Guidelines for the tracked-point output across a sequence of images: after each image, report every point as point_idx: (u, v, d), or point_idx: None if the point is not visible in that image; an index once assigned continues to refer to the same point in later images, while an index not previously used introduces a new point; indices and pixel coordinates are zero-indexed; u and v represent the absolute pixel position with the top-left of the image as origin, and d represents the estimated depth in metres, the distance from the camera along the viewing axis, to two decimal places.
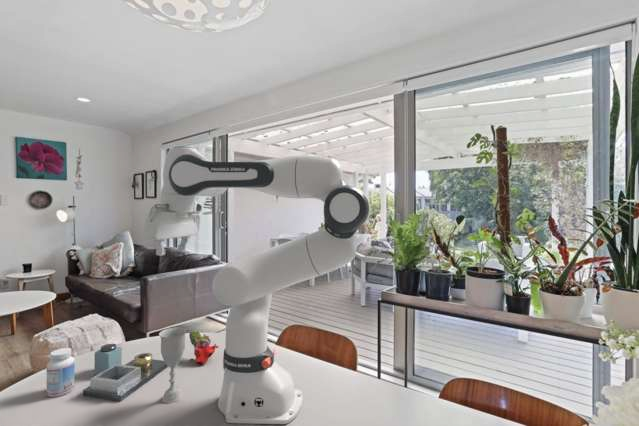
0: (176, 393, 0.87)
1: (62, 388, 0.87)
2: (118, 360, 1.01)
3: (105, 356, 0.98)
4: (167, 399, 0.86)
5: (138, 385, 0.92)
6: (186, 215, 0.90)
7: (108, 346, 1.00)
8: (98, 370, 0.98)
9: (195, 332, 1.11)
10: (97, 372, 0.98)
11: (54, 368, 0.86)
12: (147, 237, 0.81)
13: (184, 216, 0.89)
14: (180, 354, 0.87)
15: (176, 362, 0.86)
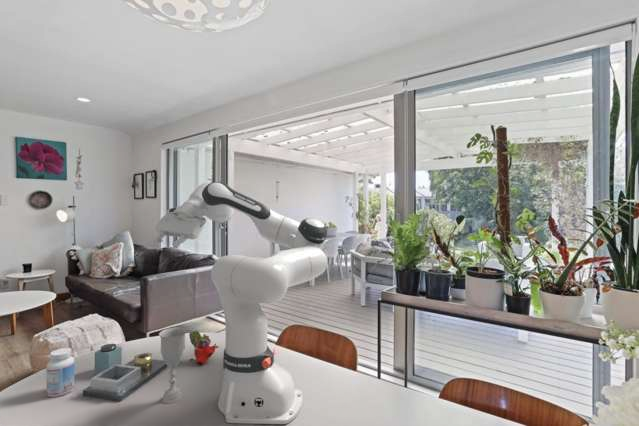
0: (176, 393, 0.87)
1: (62, 388, 0.87)
2: (118, 360, 1.01)
3: (105, 356, 0.98)
4: (167, 399, 0.86)
5: (138, 385, 0.92)
6: None
7: (108, 346, 1.00)
8: (98, 370, 0.98)
9: (195, 332, 1.11)
10: (97, 372, 0.98)
11: (54, 368, 0.86)
12: (192, 235, 1.13)
13: None
14: (180, 354, 0.87)
15: (176, 362, 0.86)
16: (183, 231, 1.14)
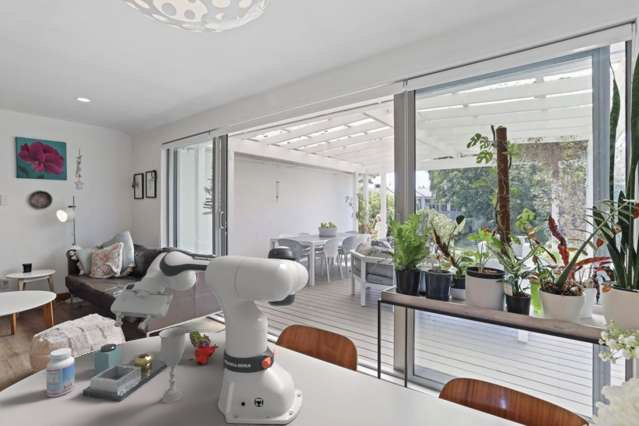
0: (176, 393, 0.87)
1: (62, 388, 0.87)
2: (118, 360, 1.01)
3: (105, 356, 0.98)
4: (167, 399, 0.86)
5: (138, 385, 0.92)
6: None
7: (108, 346, 1.00)
8: (98, 370, 0.98)
9: (195, 332, 1.11)
10: (97, 372, 0.98)
11: (54, 368, 0.86)
12: (160, 315, 1.10)
13: None
14: (180, 354, 0.87)
15: (176, 362, 0.86)
16: (149, 311, 1.10)
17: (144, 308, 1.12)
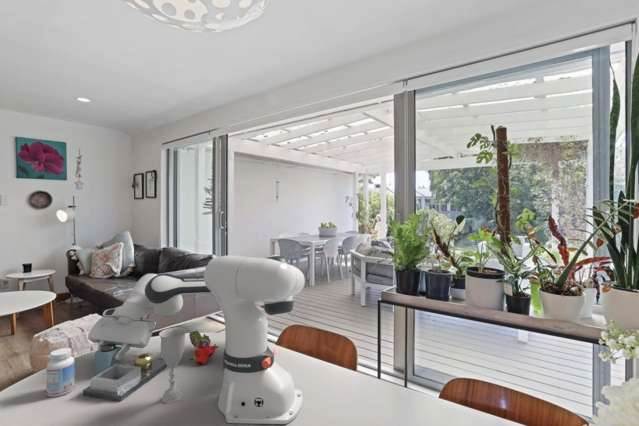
0: (176, 393, 0.87)
1: (62, 388, 0.87)
2: (118, 360, 1.01)
3: (105, 356, 0.98)
4: (167, 399, 0.86)
5: (138, 385, 0.92)
6: None
7: (108, 346, 1.00)
8: (98, 370, 0.98)
9: (195, 332, 1.11)
10: (97, 372, 0.98)
11: (54, 368, 0.86)
12: (142, 344, 1.01)
13: None
14: (180, 354, 0.87)
15: (176, 362, 0.86)
16: (130, 341, 1.01)
17: (124, 336, 1.03)
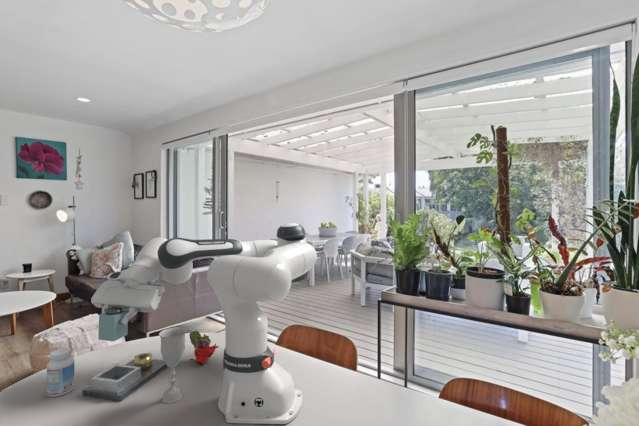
0: (176, 393, 0.87)
1: (62, 388, 0.87)
2: (124, 325, 0.93)
3: (110, 319, 0.90)
4: (167, 399, 0.86)
5: (138, 385, 0.92)
6: None
7: (114, 309, 0.92)
8: (103, 334, 0.90)
9: (195, 332, 1.11)
10: (101, 337, 0.90)
11: (54, 368, 0.86)
12: (150, 308, 0.93)
13: None
14: (180, 354, 0.87)
15: (176, 362, 0.86)
16: (137, 304, 0.93)
17: (131, 300, 0.94)
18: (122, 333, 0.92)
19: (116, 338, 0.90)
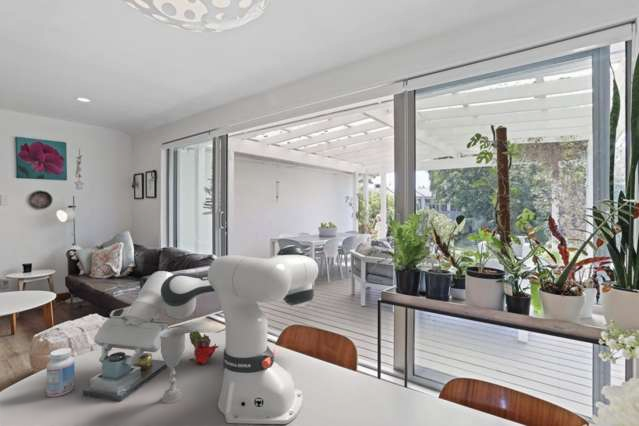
0: (176, 393, 0.87)
1: (62, 388, 0.87)
2: (127, 370, 0.92)
3: (113, 366, 0.89)
4: (167, 399, 0.86)
5: (138, 385, 0.92)
6: None
7: (117, 355, 0.91)
8: None
9: (195, 332, 1.11)
10: None
11: (54, 368, 0.86)
12: (154, 348, 0.92)
13: None
14: (180, 354, 0.87)
15: (176, 362, 0.86)
16: (140, 344, 0.92)
17: (134, 340, 0.93)
18: None
19: None
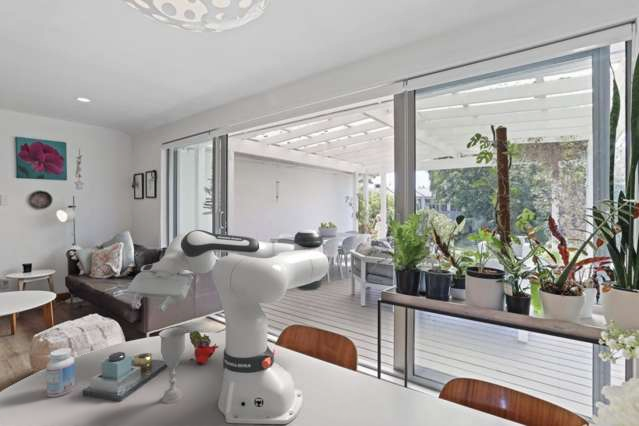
0: (176, 393, 0.87)
1: (62, 388, 0.87)
2: (127, 370, 0.92)
3: (113, 366, 0.89)
4: (167, 399, 0.86)
5: (138, 385, 0.92)
6: None
7: (117, 355, 0.91)
8: None
9: (195, 332, 1.11)
10: None
11: (54, 368, 0.86)
12: (181, 295, 1.05)
13: None
14: (180, 354, 0.87)
15: (176, 362, 0.86)
16: (169, 292, 1.04)
17: (164, 289, 1.06)
18: None
19: None
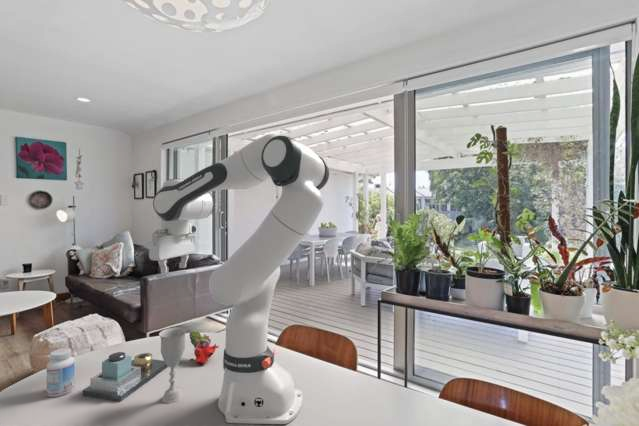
0: (176, 393, 0.87)
1: (62, 388, 0.87)
2: (127, 370, 0.92)
3: (113, 366, 0.89)
4: (167, 399, 0.86)
5: (138, 385, 0.92)
6: (183, 236, 1.06)
7: (117, 355, 0.91)
8: None
9: (195, 332, 1.11)
10: None
11: (54, 368, 0.86)
12: (152, 259, 0.97)
13: (181, 238, 1.05)
14: (180, 354, 0.87)
15: (176, 362, 0.86)
16: None
17: None
18: None
19: None
